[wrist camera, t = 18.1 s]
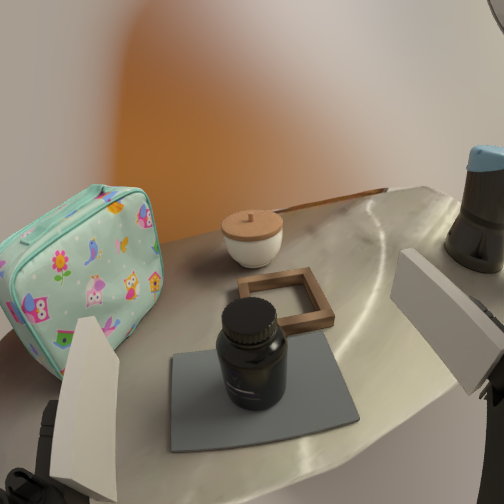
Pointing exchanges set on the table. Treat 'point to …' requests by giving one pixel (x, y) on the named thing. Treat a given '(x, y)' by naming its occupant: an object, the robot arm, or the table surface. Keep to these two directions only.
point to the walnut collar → (288, 278)
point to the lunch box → (81, 271)
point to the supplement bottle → (252, 354)
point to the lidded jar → (253, 237)
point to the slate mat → (265, 421)
